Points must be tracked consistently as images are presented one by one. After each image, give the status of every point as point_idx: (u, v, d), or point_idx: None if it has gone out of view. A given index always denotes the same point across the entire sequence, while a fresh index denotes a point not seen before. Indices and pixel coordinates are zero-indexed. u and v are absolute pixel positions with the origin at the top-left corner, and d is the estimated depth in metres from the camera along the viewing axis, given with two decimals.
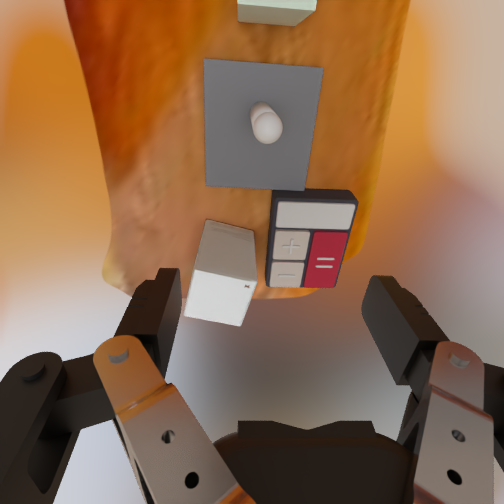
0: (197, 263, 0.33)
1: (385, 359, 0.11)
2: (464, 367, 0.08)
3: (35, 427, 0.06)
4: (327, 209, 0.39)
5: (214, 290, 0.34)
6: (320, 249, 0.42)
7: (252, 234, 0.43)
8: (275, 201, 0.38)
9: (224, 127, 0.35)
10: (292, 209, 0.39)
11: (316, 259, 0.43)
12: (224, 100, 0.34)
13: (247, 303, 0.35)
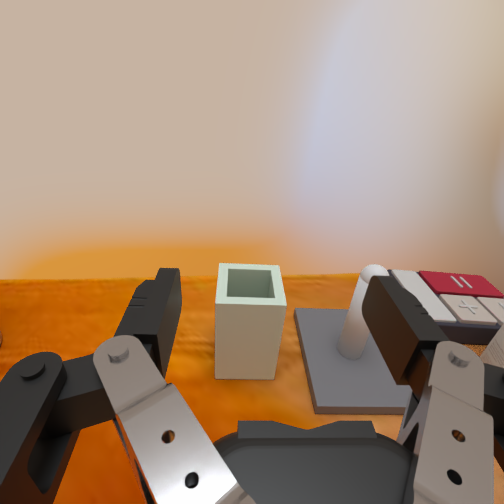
0: None
1: (385, 359, 0.11)
2: (464, 367, 0.08)
3: (35, 427, 0.06)
4: (408, 284, 0.40)
5: None
6: (450, 286, 0.41)
7: (485, 351, 0.34)
8: None
9: (379, 383, 0.30)
10: (426, 308, 0.36)
11: (463, 287, 0.41)
12: (351, 384, 0.29)
13: None
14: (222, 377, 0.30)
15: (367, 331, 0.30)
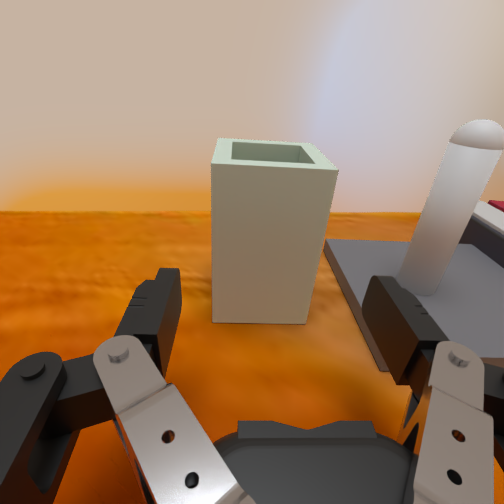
0: None
1: (385, 359, 0.11)
2: (464, 367, 0.08)
3: (35, 427, 0.06)
4: (480, 211, 0.29)
5: None
6: None
7: None
8: None
9: (476, 326, 0.18)
10: None
11: None
12: None
13: None
14: (224, 319, 0.19)
15: (455, 243, 0.19)
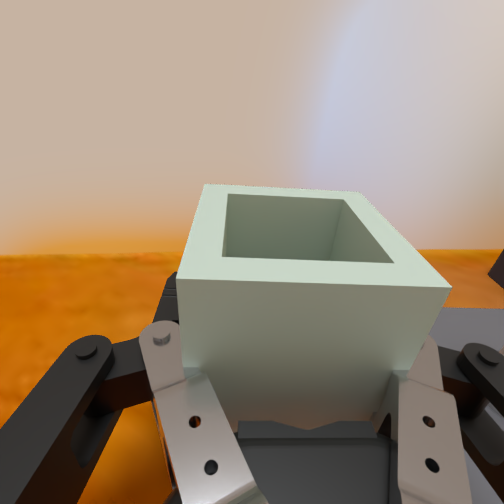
0: None
1: None
2: None
3: (81, 405, 0.07)
4: None
5: None
6: None
7: None
8: None
9: None
10: None
11: None
12: None
13: None
14: None
15: None
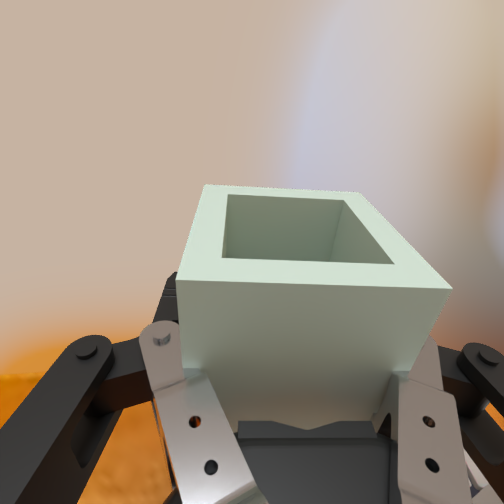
0: None
1: None
2: None
3: (81, 405, 0.07)
4: None
5: None
6: None
7: None
8: None
9: None
10: None
11: None
12: None
13: None
14: None
15: None
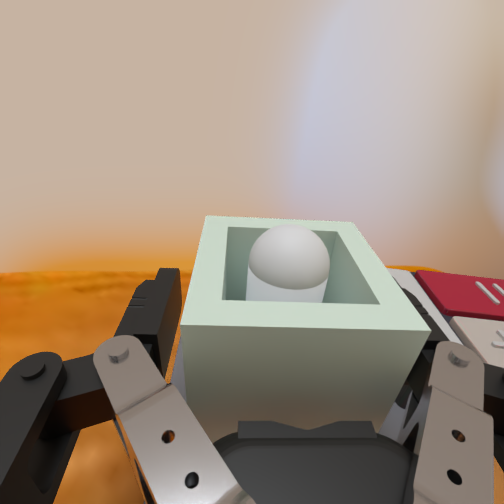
0: None
1: None
2: (464, 367, 0.08)
3: (35, 427, 0.06)
4: None
5: None
6: (475, 300, 0.21)
7: None
8: None
9: None
10: None
11: (501, 305, 0.21)
12: None
13: None
14: None
15: None
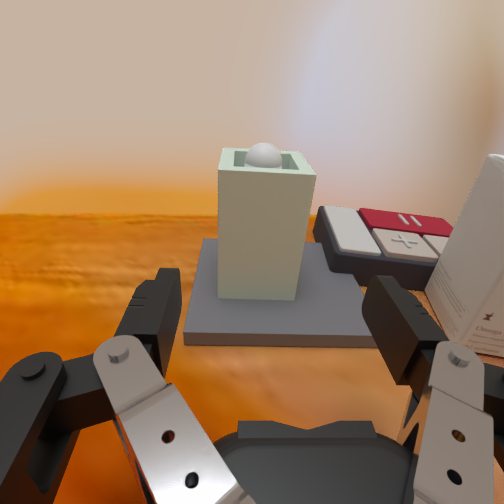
0: None
1: (385, 359, 0.11)
2: (464, 367, 0.08)
3: (35, 427, 0.06)
4: (336, 218, 0.32)
5: None
6: (392, 222, 0.32)
7: (429, 280, 0.27)
8: (341, 254, 0.26)
9: (279, 310, 0.22)
10: (346, 239, 0.28)
11: (409, 225, 0.32)
12: (240, 310, 0.22)
13: None
14: (227, 296, 0.23)
15: None
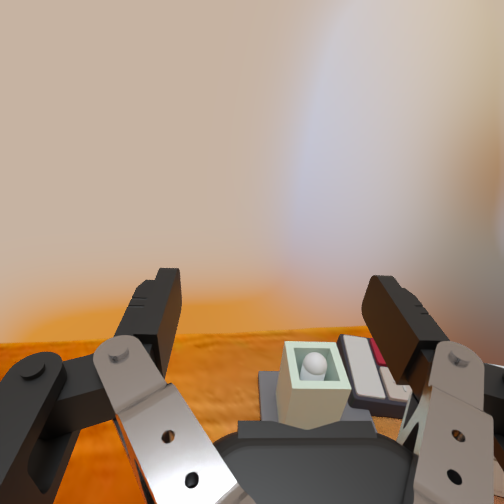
0: None
1: (385, 359, 0.11)
2: (464, 367, 0.08)
3: (35, 427, 0.06)
4: (352, 353, 0.44)
5: None
6: None
7: None
8: (357, 398, 0.38)
9: None
10: (360, 381, 0.40)
11: None
12: None
13: None
14: None
15: None
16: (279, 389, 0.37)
